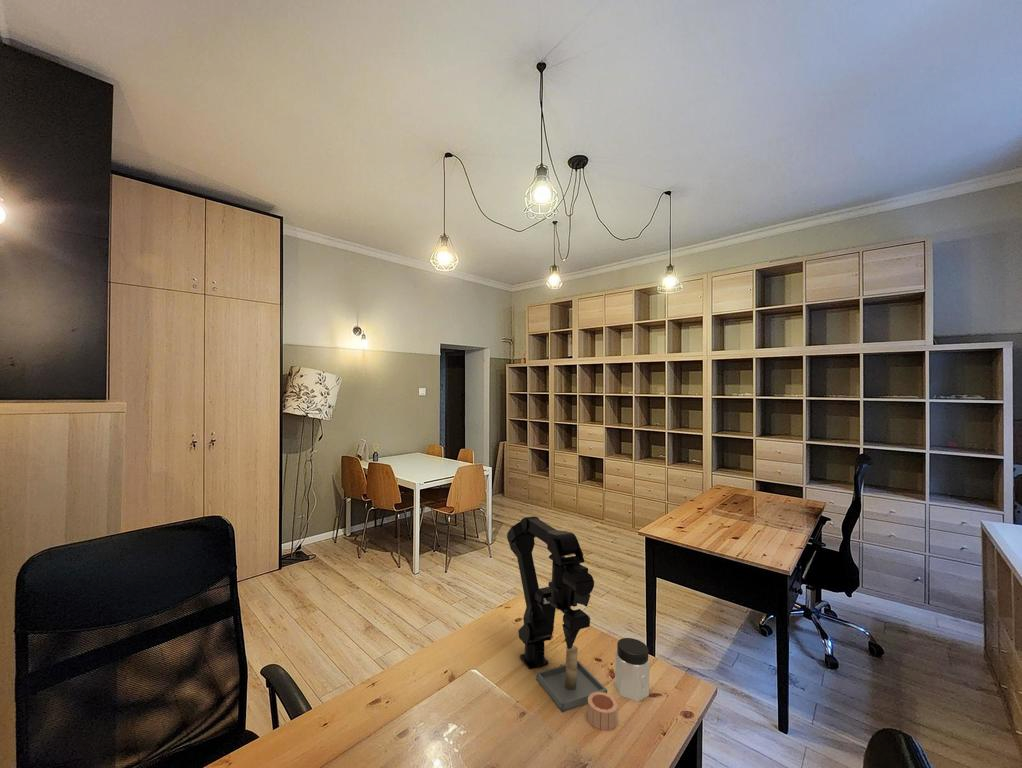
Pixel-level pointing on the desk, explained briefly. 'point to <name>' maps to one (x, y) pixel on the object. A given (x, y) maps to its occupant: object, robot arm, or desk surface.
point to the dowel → (571, 668)
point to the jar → (632, 669)
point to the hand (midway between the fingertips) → (559, 639)
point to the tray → (560, 694)
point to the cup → (602, 711)
